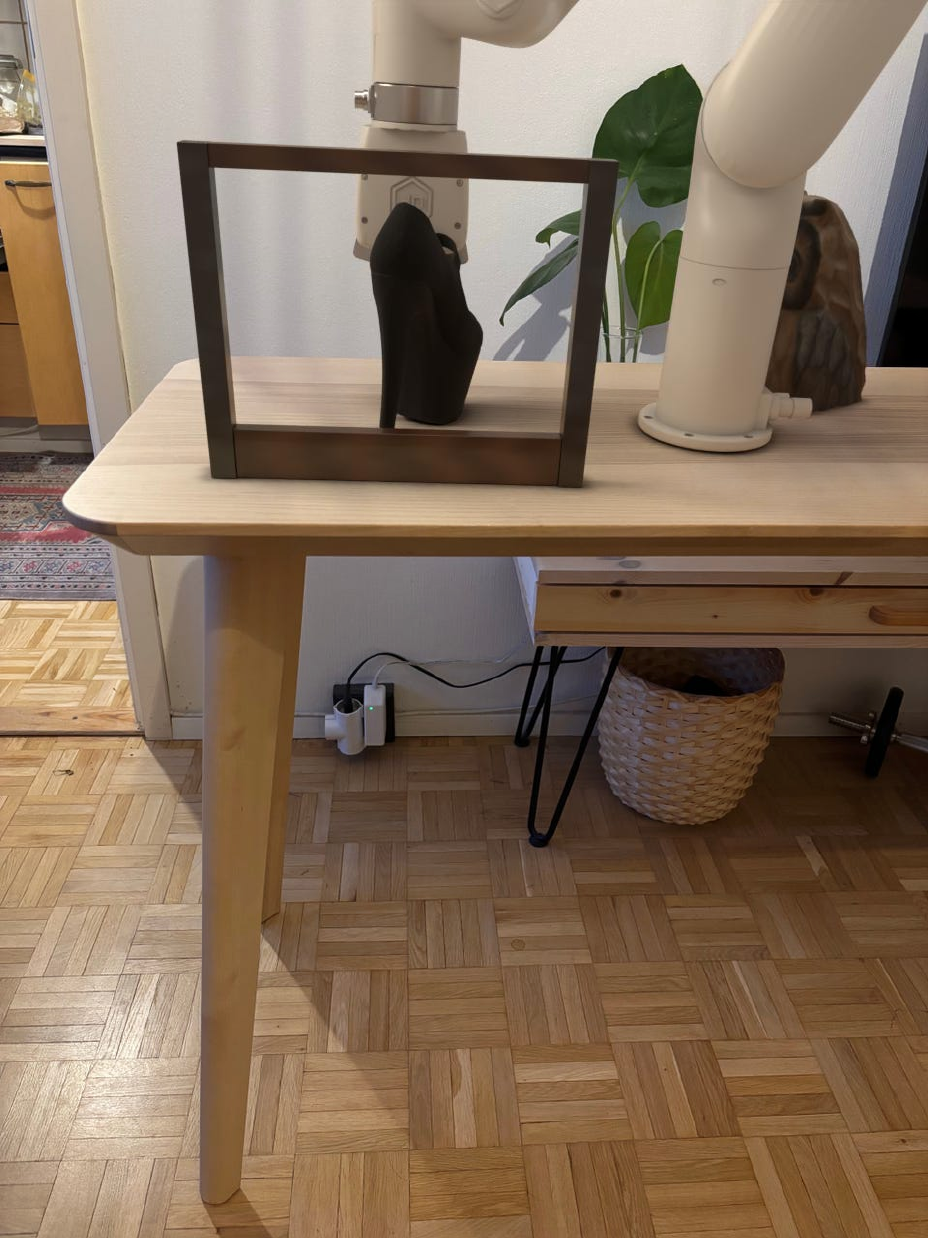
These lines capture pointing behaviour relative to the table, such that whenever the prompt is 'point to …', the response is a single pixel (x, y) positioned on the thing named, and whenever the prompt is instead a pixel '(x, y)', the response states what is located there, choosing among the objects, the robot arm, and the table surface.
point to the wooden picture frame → (393, 448)
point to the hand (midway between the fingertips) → (409, 325)
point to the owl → (821, 313)
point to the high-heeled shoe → (421, 321)
